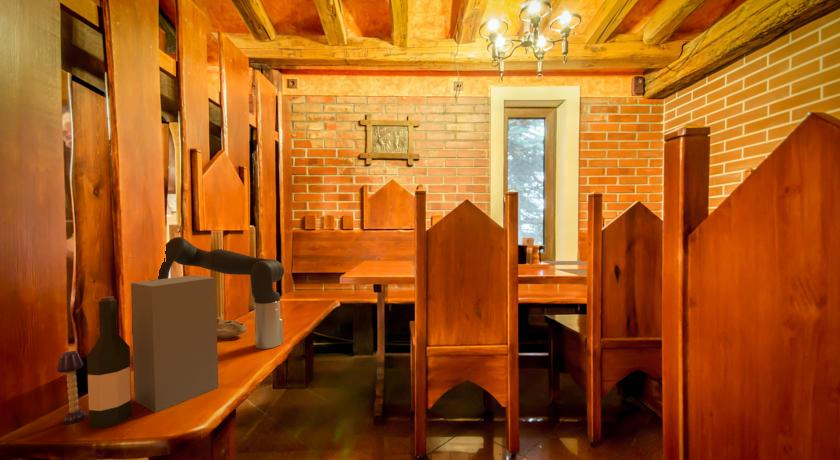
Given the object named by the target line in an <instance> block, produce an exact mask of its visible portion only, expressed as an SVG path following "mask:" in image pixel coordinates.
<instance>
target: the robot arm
mask: <svg viewBox="0 0 840 460" xmlns="http://www.w3.org/2000/svg"><path fill="white" fill-rule="evenodd" d="M165 246H166V251H165V254H166V262H165V258H164V262H163V263H162V265H161V268H160V270H159V276H158V280H159V279H167V278H169V276H170V275H169V274H170V271H171V267H172V266H173V264H174V262H175V263H177V264H178V265H182V266H188V267H189V266H190V267H197V268H198V267H199V268H203V269H206V270H209V271H212V272H217V273H221V274H225V275H237V276H240V275H241V276H244V275H245V276H246V275H247V276H250V285H251V294H252V297H253V301H254V332H255V333H254V336H255V337H254V338H255V340H254V341H255V348H257V349H259V350H264V349H267V350H268V349H271V348H272V349H273V348H275V347H276V348H277V347H278V346H280V345H281V344H283V343H284V324H283V323H284V322H283V321H284V320H283V318H281V294H280V293H279V292H277V291H276V290H274V285H273V283H276V282H278V281H280V280H282V278H283V277H284V275H285V267H284V265H283V264H282V263H281V262H280V261H278V260H276V259H272V258H271V259H270V258H260V257H254V256H250V255H247V254H243V253H239V252H235V251H231V250H226V249H221V248H220V249H219V248H216V249H213V250H209V251H208V250H205V249H200V248H198V247H196V246H194V245H193V244H192V243H191V242H190V241H188V240H187V239H185V238H184V237H183V236H176V237H173V238H171V239H170V240H169V241H167V243H166V244H165Z"/></svg>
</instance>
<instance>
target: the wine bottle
mask: <svg viewBox="0 0 840 460" xmlns="http://www.w3.org/2000/svg"><path fill="white" fill-rule="evenodd" d="M117 313H118V311H117V299H116V298H115V296H114V295H113V296H103V297H101V298H100V300H99V301H98V317H99V318H98V319H99V320H98V323H99V324H98V325H99V327H98V328H99V337H98V338H97V340H96V342H95V343H94V345H93V346H92V348H91V350H90V351H89V353H88V355H87V357H86V363H87V390H88V391H87V392H88V395H87V396H88V420H89V421H88V422H89V423H88V425H89V428H91V429H104V428H108V427H112V426H116V425H120V424H121V423H123V422H125V421H126V420H128V419H130V418H132V414H133V413H132V412H133V405H132V404H133V403H132V374H131V373H132V372H131V350H130V349H131V347H130V345H129V344H128V343H127V342H126V341H125V340H124V338H122V336H121V335H120V334H119V333H118V329H117V318H118V315H117Z"/></svg>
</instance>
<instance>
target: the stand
mask: <svg viewBox="0 0 840 460" xmlns="http://www.w3.org/2000/svg"><path fill="white" fill-rule="evenodd" d="M216 282H217V281H216V277H213V276H203V275H192V274H191V275H185V276H177V277H168V278H167V279H159V280H151V281H149V280H145V281H135V282H131V283H130V295H131V296H130V297H131V298H130V299H131V301H130V303H131V309H132V334H131V335H132V359H133V360H132V362H133V363H132V364H133V365H132V366H133V388H134V389H133V390H134V391H133V393H134V402H136V403H137V404H138V405H141V406H143V407H145V408H146V409H148V410H150V411H152V412H154V413H158V412H161V411H164V410H166V409H168V408H171V407H173V406H176V405H179V404H181V403H183V401H184V402H186V401H189V400H192V399H193V398H195V397H199V396H201V395H204V394H206V393H209V392H211V391H214V390H217V389H219V363H218V362H219V361H218V360H219V359H218V358H219V357H218V336H217V318H218V317H217V291H216V290H217V288H216ZM188 399H189V400H188Z"/></svg>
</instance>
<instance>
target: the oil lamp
mask: <svg viewBox="0 0 840 460" xmlns="http://www.w3.org/2000/svg"><path fill="white" fill-rule="evenodd" d="M247 330H248V329H247V326H246V324H245V323H242V322H239V321H237V320H229V319H227V320H224V319H222V317H220V316H219V317H217V338H219V339H232V338H235V337H237V336H240V335H243V334H245V332H246V331H247Z"/></svg>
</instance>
